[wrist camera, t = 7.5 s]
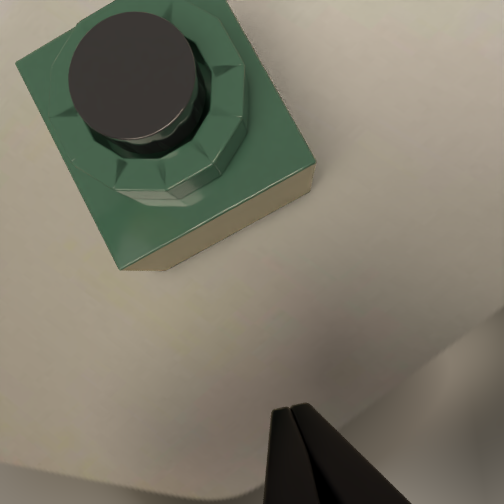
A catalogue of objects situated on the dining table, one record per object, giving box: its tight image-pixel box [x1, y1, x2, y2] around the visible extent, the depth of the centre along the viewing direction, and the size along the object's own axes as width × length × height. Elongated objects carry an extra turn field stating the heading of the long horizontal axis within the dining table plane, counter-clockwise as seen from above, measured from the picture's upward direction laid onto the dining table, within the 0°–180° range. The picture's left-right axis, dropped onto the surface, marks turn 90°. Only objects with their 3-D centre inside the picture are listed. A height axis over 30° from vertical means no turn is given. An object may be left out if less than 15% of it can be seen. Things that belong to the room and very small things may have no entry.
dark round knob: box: [68, 11, 206, 154], centre depth 15 cm, size 4×4×2 cm
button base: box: [15, 0, 316, 271], centre depth 20 cm, size 10×9×8 cm
